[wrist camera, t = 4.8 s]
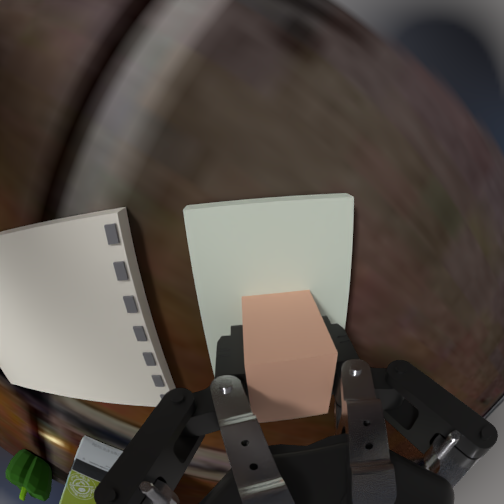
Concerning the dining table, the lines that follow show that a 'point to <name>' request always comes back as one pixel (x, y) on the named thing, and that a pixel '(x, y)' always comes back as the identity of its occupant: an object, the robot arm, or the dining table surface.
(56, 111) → the dining table surface
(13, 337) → the white notebook
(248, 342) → the stub
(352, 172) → the dining table surface
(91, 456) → the tea box
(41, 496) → the bell pepper
